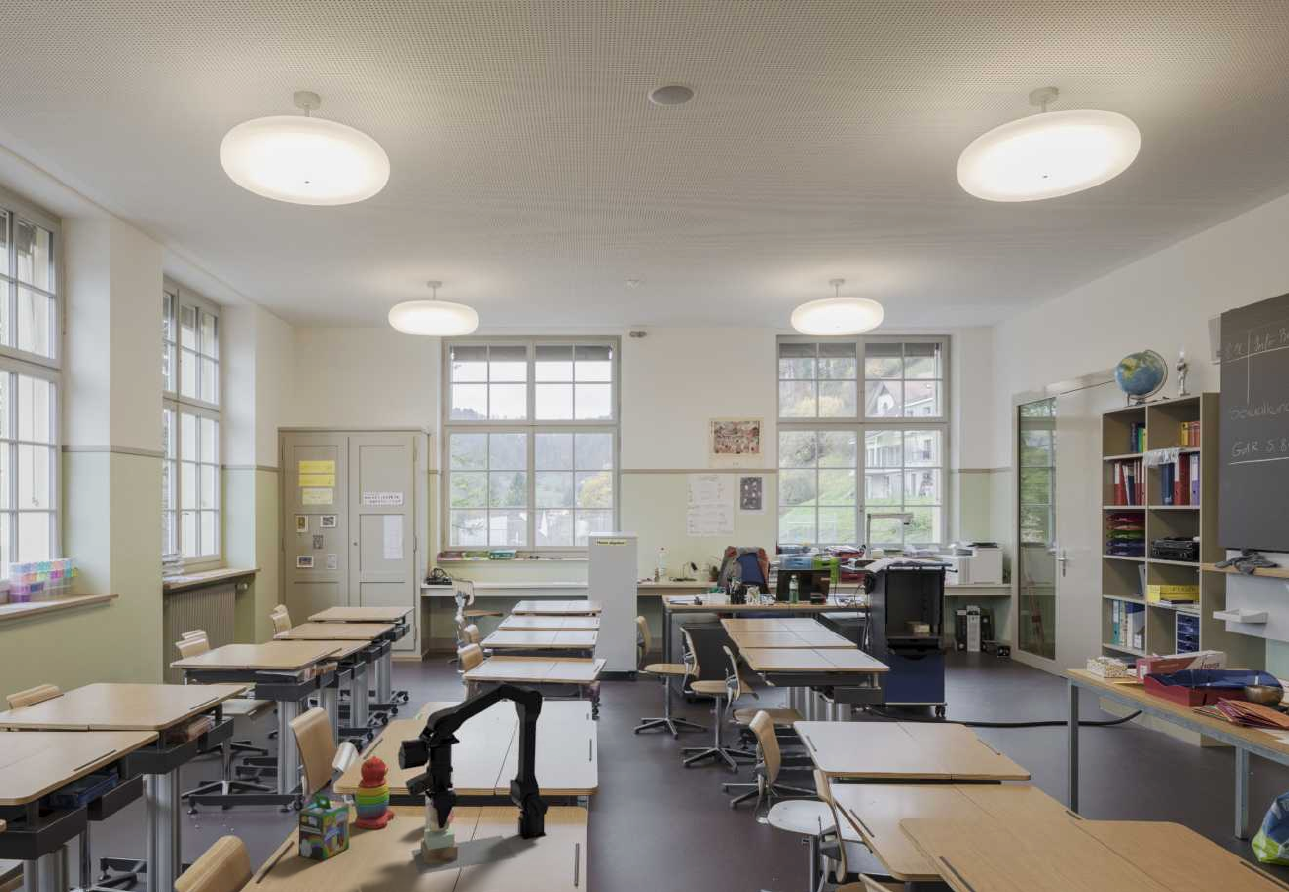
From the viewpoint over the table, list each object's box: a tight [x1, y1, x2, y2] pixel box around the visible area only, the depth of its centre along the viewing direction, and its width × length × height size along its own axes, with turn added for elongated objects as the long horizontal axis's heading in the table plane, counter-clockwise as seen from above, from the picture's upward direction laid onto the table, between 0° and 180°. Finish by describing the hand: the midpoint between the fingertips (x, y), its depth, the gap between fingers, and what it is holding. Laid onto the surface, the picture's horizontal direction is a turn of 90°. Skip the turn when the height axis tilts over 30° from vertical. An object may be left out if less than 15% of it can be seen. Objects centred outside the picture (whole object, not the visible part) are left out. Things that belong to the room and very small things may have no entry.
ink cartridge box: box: [425, 771, 455, 829], centre depth 233 cm, size 9×5×15 cm, turn 168°
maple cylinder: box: [429, 806, 450, 831], centre depth 212 cm, size 5×5×5 cm
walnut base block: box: [420, 839, 458, 864], centre depth 211 cm, size 8×8×3 cm
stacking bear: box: [354, 755, 396, 830], centre depth 236 cm, size 11×10×18 cm
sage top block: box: [423, 824, 455, 851], centre depth 212 cm, size 6×6×3 cm
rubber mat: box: [411, 834, 517, 875], centre depth 212 cm, size 24×15×1 cm, turn 114°
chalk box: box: [298, 793, 350, 862], centre depth 215 cm, size 9×9×15 cm
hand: (439, 824), depth 212 cm, fingers closed on maple cylinder, 5 cm apart
